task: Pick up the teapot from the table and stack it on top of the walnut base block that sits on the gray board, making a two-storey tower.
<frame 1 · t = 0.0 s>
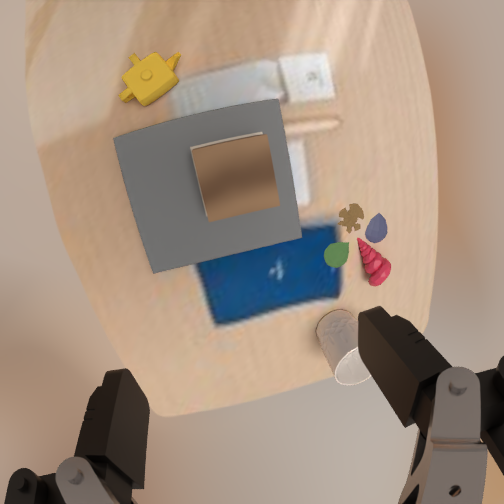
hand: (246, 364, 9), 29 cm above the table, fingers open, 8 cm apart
white cup: (334, 325, 47), on the table
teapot: (152, 78, 30), on the table
base block: (233, 173, 35), point 1 cm above the table, touching gray board
gray board: (210, 186, 36), on the table
toy pieces: (358, 240, 43), on the table
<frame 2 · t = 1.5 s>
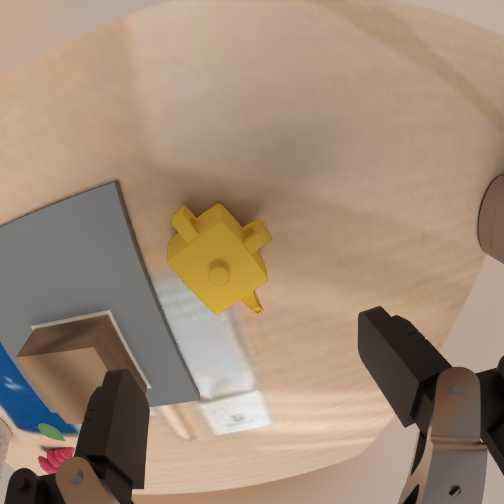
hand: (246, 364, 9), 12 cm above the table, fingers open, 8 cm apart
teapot: (224, 240, 21), on the table
base block: (89, 359, 22), point 1 cm above the table, touching gray board
gray board: (67, 327, 22), on the table
toy pieces: (72, 446, 29), on the table
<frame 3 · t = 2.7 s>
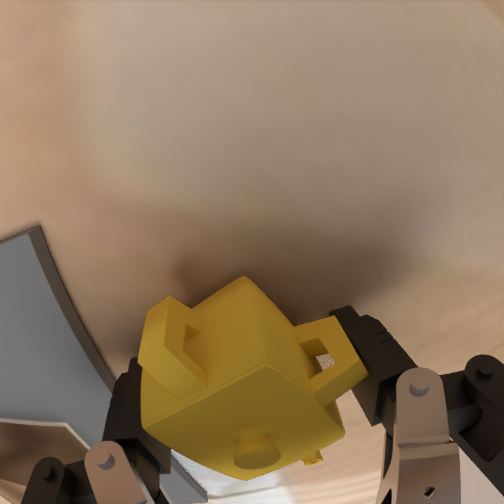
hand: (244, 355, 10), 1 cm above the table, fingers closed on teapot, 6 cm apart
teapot: (251, 332, 11), on the table, touching gripper
base block: (55, 461, 12), point 1 cm above the table, touching gray board
gray board: (20, 422, 12), on the table
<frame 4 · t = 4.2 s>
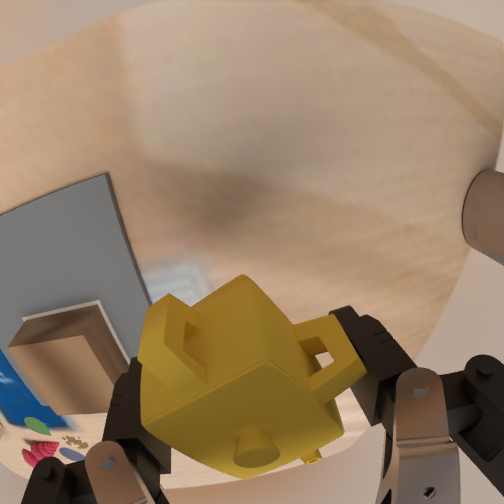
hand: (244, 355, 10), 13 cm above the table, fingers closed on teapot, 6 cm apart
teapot: (251, 331, 11), point 11 cm above the table, touching gripper
base block: (79, 350, 22), point 1 cm above the table, touching gray board
gray board: (58, 318, 21), on the table
toy pieces: (57, 440, 28), on the table
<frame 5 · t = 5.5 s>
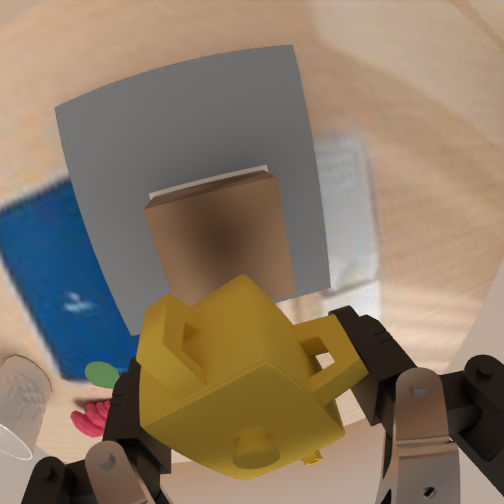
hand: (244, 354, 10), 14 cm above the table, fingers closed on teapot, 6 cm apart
white cup: (28, 375, 26), on the table
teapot: (251, 331, 11), point 13 cm above the table, touching gripper
base block: (220, 234, 22), point 1 cm above the table, touching gray board
gray board: (197, 196, 22), on the table
toy pieces: (123, 397, 29), on the table
when the fingers open (6 cm above the table, at t = 7.0 s): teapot stays where it is, resting on base block.
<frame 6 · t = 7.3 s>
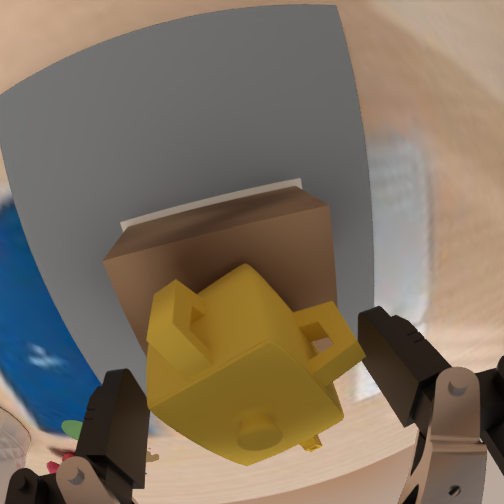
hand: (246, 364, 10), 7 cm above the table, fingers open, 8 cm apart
white cup: (4, 421, 19), on the table
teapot: (252, 320, 12), point 5 cm above the table, touching base block
base block: (229, 281, 15), point 1 cm above the table, touching gray board, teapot
gray board: (194, 225, 15), on the table
toy pieces: (105, 451, 22), on the table
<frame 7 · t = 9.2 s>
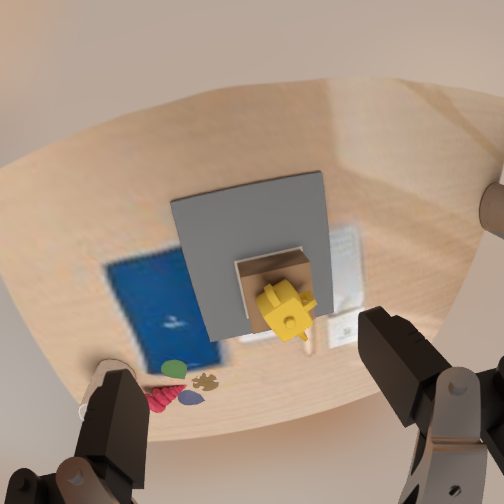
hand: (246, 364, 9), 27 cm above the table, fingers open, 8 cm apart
white cup: (116, 373, 42), on the table
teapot: (284, 297, 35), point 5 cm above the table, touching base block
base block: (273, 284, 39), point 1 cm above the table, touching gray board, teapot
gray board: (261, 262, 38), on the table
toy pieces: (182, 384, 45), on the table
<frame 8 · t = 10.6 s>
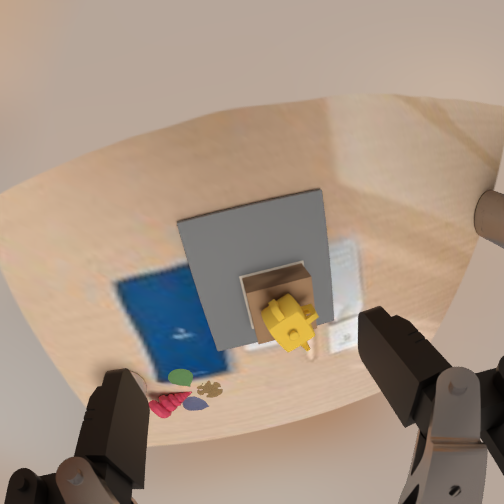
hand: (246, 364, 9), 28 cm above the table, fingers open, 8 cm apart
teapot: (287, 309, 37), point 5 cm above the table, touching base block
base block: (276, 296, 41), point 1 cm above the table, touching gray board, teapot
gray board: (264, 276, 40), on the table
toy pieces: (187, 391, 47), on the table
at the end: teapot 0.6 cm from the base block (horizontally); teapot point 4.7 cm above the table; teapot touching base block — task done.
